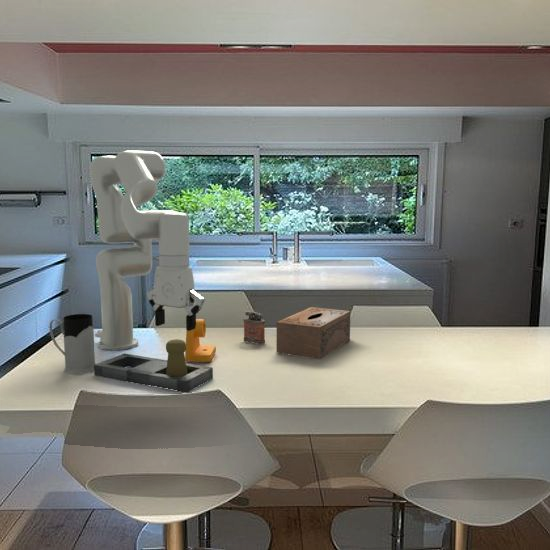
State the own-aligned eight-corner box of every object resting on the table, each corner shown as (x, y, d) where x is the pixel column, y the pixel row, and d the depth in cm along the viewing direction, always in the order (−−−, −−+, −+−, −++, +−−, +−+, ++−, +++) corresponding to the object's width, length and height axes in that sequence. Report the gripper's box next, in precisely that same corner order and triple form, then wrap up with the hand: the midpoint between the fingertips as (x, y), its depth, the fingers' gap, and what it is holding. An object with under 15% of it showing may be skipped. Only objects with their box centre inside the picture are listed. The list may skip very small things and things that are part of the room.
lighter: (267, 342, 182) (267, 312, 180) (261, 344, 179) (261, 314, 178) (247, 338, 186) (247, 309, 185) (241, 340, 183) (241, 311, 182)
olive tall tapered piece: (177, 386, 139) (176, 344, 137) (160, 382, 142) (158, 341, 141) (193, 380, 144) (192, 339, 143) (176, 376, 147) (175, 336, 146)
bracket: (210, 364, 158) (209, 323, 156) (185, 363, 158) (184, 323, 157) (216, 353, 168) (215, 315, 167) (193, 353, 169) (192, 315, 167)
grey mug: (82, 376, 147) (80, 321, 145) (41, 370, 152) (37, 317, 150) (103, 366, 155) (101, 314, 153) (63, 361, 160) (60, 311, 158)
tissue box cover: (319, 360, 163) (319, 327, 161) (276, 353, 169) (276, 322, 168) (349, 340, 185) (350, 311, 184) (310, 335, 192) (311, 307, 191)
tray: (94, 375, 148) (93, 364, 147) (124, 363, 158) (124, 353, 158) (186, 392, 135) (186, 381, 134) (212, 378, 145) (212, 367, 145)
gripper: (137, 260, 139) (139, 326, 142) (194, 265, 132) (195, 335, 134) (156, 257, 146) (157, 320, 148) (211, 262, 138) (211, 328, 141)
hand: (175, 327), depth 141 cm, fingers open, 9 cm apart
